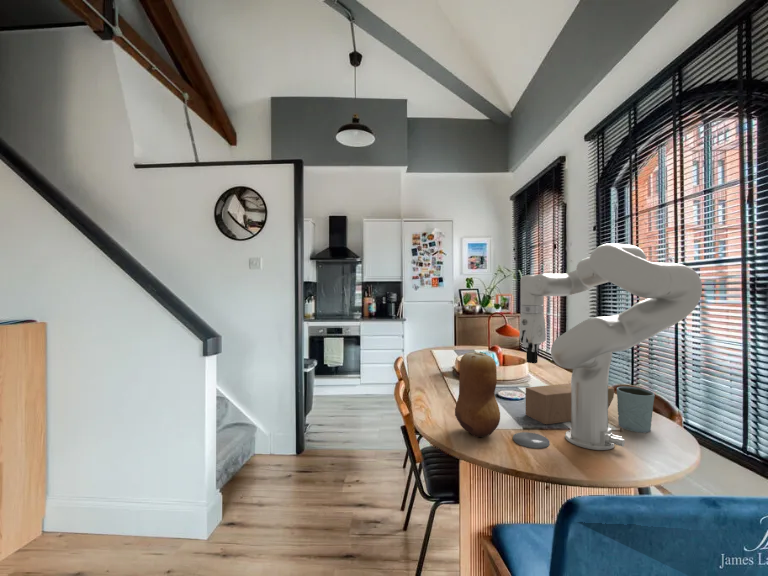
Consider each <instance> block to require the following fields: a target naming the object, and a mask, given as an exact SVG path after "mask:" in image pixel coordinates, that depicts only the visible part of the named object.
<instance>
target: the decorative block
mask: <svg viewBox="0 0 768 576" xmlns="http://www.w3.org/2000/svg"><path fill="white" fill-rule="evenodd" d="M614 396H615V387H612V386H610V385H608V409H609V408H610V406H611V404H612V401H613V400H614V398H615V397H614ZM525 416H527V417H529V418H531V419H533V420H535V421H537V422H539V423H541V424H542V425H543V424H544V425H545V424H546V425H553V424H558V423H559V424H560V423H566V422H567V423H569V422H571V382H570V383H569V382H568V383H560V384H549V385H538V386H529V387H525Z"/></svg>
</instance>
